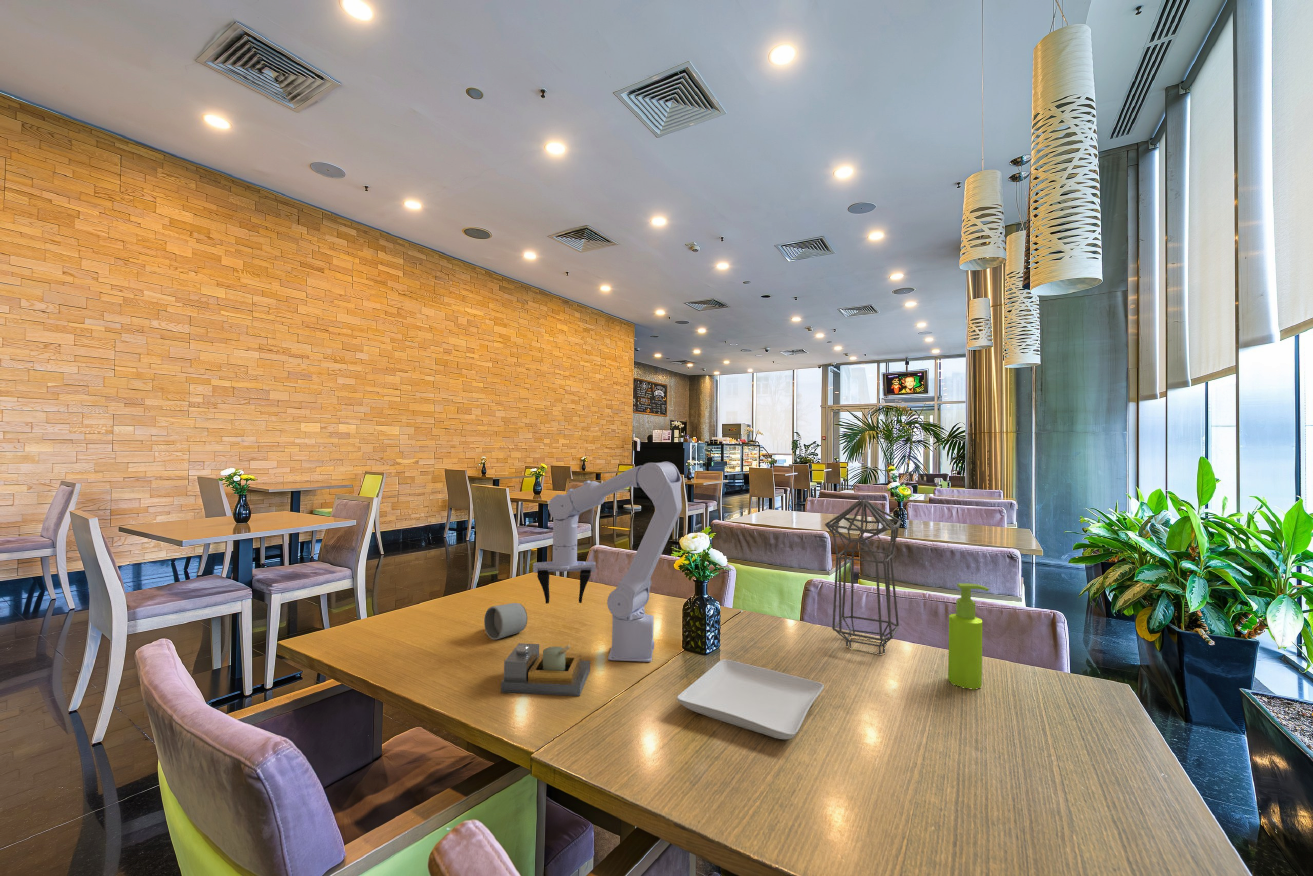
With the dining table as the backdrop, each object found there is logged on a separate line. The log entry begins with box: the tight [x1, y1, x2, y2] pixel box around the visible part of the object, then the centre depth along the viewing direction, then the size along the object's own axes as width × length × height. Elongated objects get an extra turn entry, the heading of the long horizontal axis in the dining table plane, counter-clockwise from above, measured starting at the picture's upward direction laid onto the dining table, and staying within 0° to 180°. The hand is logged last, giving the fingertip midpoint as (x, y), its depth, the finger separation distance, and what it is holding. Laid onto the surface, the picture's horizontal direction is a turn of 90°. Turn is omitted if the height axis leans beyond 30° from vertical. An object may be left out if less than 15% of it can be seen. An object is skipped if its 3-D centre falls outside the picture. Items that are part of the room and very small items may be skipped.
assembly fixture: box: [500, 642, 591, 697], centre depth 105 cm, size 15×11×7 cm
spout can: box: [542, 644, 571, 671], centre depth 104 cm, size 4×6×8 cm
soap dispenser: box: [947, 582, 990, 690], centre depth 107 cm, size 6×7×20 cm
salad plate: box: [676, 658, 825, 740], centre depth 96 cm, size 21×21×3 cm
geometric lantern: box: [824, 499, 903, 655], centre depth 126 cm, size 16×16×35 cm
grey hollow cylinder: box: [483, 602, 529, 641], centre depth 130 cm, size 11×8×8 cm
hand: (563, 602), depth 125 cm, fingers open, 7 cm apart
